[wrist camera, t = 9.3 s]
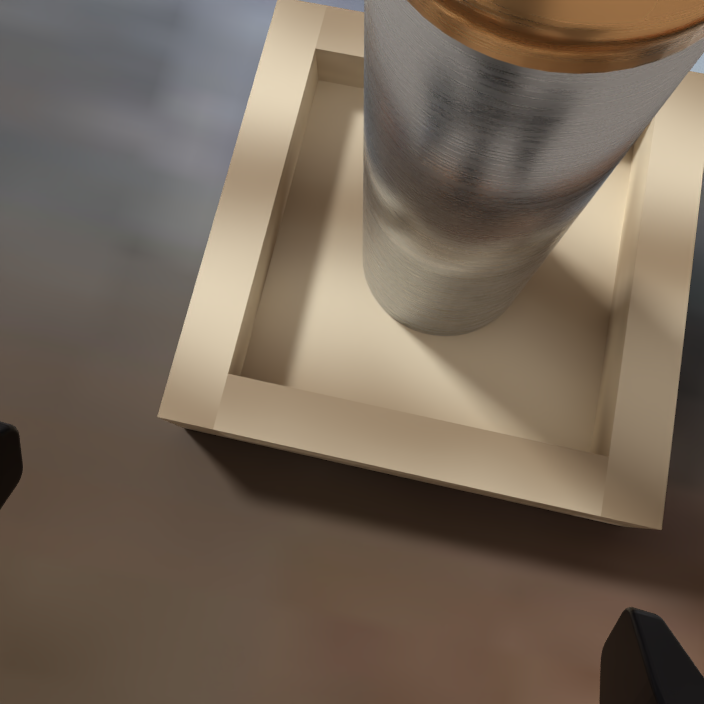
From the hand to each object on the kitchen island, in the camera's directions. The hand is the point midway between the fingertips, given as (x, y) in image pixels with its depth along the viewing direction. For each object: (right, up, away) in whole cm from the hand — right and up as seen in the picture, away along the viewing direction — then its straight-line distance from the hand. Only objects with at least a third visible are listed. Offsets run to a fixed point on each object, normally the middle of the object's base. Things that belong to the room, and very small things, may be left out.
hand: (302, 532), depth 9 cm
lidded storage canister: (+3, +5, +10) cm, 12 cm away
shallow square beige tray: (+3, +5, +11) cm, 13 cm away
